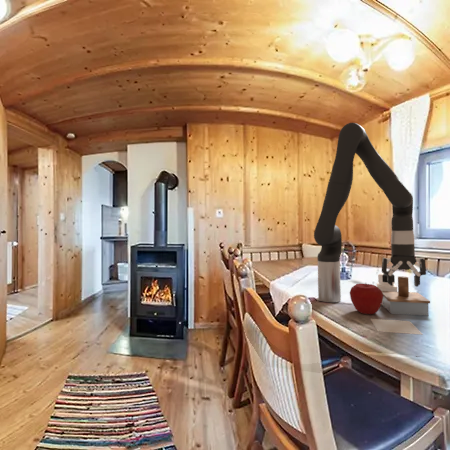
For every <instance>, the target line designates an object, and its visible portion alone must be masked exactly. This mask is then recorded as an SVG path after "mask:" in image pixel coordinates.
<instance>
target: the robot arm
mask: <svg viewBox="0 0 450 450" xmlns="http://www.w3.org/2000/svg"><path fill="white" fill-rule="evenodd" d="M356 155H357V156H358V157H359V159H360V160H361V162H363V164H364V167H365V168H366V170H367V172H368V173H369V175H370V177H371V178H372V179H373V181H374V182H375V183H376V184H377V185H378V187H379V188H380V190H382V191H383V192H382V193H384V194H385V197H386V198H387V199H388V201H389V203H390V204H391V206H392V208H391V209H392V217H391V232H390V233H391V235H390V247H391V249H390V250H391V253H390V254H391V255H390V258H387V257H382V258H381V273H384V274H386V275H387V282H388V284H389V285H390V286H392V285H393V280H392V274H393V275H394V274H395V272H396V271H397V270H399V271H400V270H401V271H403V270H404V271H409V270H410V271H411V272H412V273H413V274H414V275H413V279H414V280H413V284H414V287H419V286H420V285H421V277H422V276H426V275H427V269H426V259H425V258H423V257H420V258H416V253H415V249H416V248H415V234H414V220H413V210H414V197H413V195H412V193H411V192H410V191H409V190H408V189H407V188H406V186H405V185H404V184H403V183H402V182H401V180H400V179H399V177H398V176H397V174H396V173H395V172H394V170H393V169H392V168H391V166H390V165H389V164H388V163H387V162H386V160H384V158H383V157H382V156H381V155H380V153H378V151H377V150H376V148H375V147H374V146H373V143H372V142H371V140H370V138H369V136H368V133H367V132H366V129H365V128H364V127H363V126H361V125H360V124H358V123H357V122H349V123H346V124H345V125H343V126H342V128H341V129H340V131H339V134H338V140H337V146H336V153H335V158H334V161H333V165H332V169H331V173H330V177H329V179H328V182H327V183H328V184H327V187H326V191H325V196H324V199H323V202H322V203H323V204H322V208H321V211H320V214H319V217H318V220H317V223H316V226H315V229H314V231H313V232H314V233H313V238H314V241H315V242H316V244H317V245H318V246H320V247H321V248H320V251H319V253H318V254H317V290H318V292H317V293H318V295H317V297H318V299H317V300H318V301H319V302H324V303H339V302H341V301H342V299H341V298H342V295H341V294H342V293H341V292H342V291H341V289H342V288H341V261H340V260H341V254H342V239H343V237H342V231H341V229H340V227H339V226H338V225H336V223H337V218H338V216H339V213H340V212H341V210H342V209H343V207H344V206H345V204H346V202H347V201H348V199H349V197H350V193H351V188H352V186H353V179H354V159H355V156H356ZM390 263H391V264H392V265H391V266H390V268H389V269H388V264H390ZM416 263H417V264H418V265H419V271H418V270H417V268H416V266H414V265H415V264H416Z"/></svg>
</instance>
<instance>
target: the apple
mask: <svg viewBox="0 0 450 450" xmlns="http://www.w3.org/2000/svg"><path fill="white" fill-rule="evenodd" d="M349 297H350V301H351V303H352V305H353V307H354V308H355V310H357V312H358V313H360V314H363V315H367V316H368V315H374V314H376V313H378V311H379V309H380V307H381V306H382V304H383V303H382V299H383V294H382V291H381V290H380V289H379V288H378V287H377V285H376V284H375V285H374V284H371V283H370V284H369V283H356V284H355V285H353V286H351V287H350V291H349Z"/></svg>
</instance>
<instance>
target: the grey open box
mask: <svg viewBox="0 0 450 450" xmlns="http://www.w3.org/2000/svg"><path fill="white" fill-rule="evenodd" d="M382 307H383V308H384V309H386V310H387V311H388V313H390V314H392V315H393V314H395V315H409V316H411V315H412V316H429V315H430V313H429V303H411V302H390V301H388V300H387V299H386V298H385V297H384V296H383V303H382Z"/></svg>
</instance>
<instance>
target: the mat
mask: <svg viewBox="0 0 450 450" xmlns="http://www.w3.org/2000/svg"><path fill="white" fill-rule="evenodd" d="M370 322H372V323H371V324H372V325H373V327H374V328H375V329H376V331H377V332H379V333H380V332H384V333H394V334H395V333H396V334H411V335H424V334H423V333H422V332H421V331H420V330H419V329H418V328H417V326H415V325H414V324H413V323H412V322H411V321H410V320H397V319H381V318H370Z"/></svg>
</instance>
